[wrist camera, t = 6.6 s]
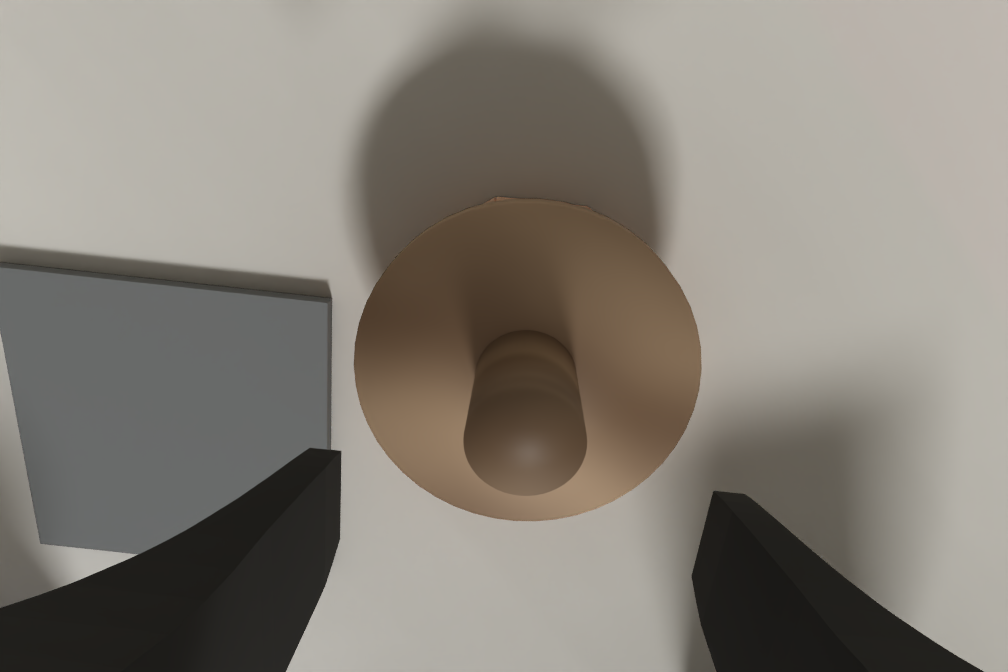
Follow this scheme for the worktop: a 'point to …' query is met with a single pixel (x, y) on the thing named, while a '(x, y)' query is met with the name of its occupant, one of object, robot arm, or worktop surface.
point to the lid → (527, 360)
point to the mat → (156, 397)
